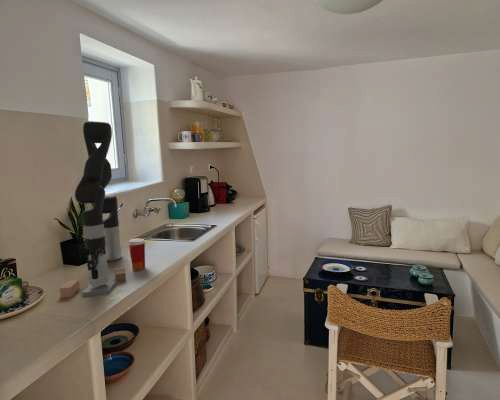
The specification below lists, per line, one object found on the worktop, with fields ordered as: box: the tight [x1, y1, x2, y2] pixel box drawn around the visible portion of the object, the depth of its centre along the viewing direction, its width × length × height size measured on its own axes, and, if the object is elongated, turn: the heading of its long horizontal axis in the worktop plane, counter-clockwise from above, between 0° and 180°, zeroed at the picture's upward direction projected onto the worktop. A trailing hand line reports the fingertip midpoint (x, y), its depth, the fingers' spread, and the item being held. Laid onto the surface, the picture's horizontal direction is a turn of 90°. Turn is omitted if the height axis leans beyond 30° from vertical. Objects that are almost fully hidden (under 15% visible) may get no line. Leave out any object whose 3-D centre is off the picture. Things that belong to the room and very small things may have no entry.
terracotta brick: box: [59, 279, 81, 298], centre depth 136 cm, size 8×4×4 cm, turn 5°
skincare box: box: [88, 254, 110, 288], centre depth 137 cm, size 6×4×12 cm
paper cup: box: [127, 237, 146, 272], centre depth 161 cm, size 8×8×14 cm
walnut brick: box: [114, 266, 127, 284], centre depth 149 cm, size 8×4×4 cm, turn 23°
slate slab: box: [81, 280, 117, 297], centre depth 138 cm, size 10×10×2 cm
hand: (98, 275), depth 137 cm, fingers closed on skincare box, 7 cm apart
